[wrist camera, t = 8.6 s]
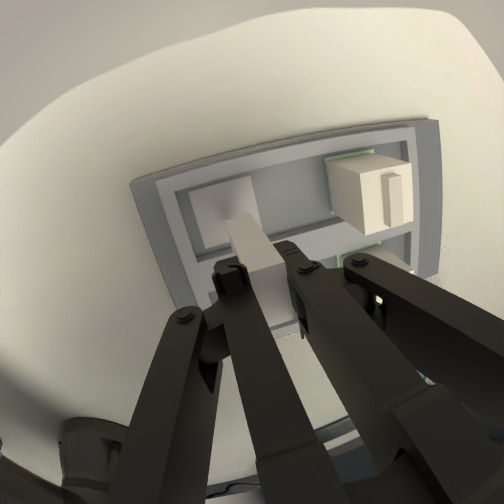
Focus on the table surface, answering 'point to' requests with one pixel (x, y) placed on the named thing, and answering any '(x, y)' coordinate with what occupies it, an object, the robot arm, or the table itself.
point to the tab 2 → (385, 255)
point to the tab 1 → (371, 191)
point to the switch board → (286, 205)
